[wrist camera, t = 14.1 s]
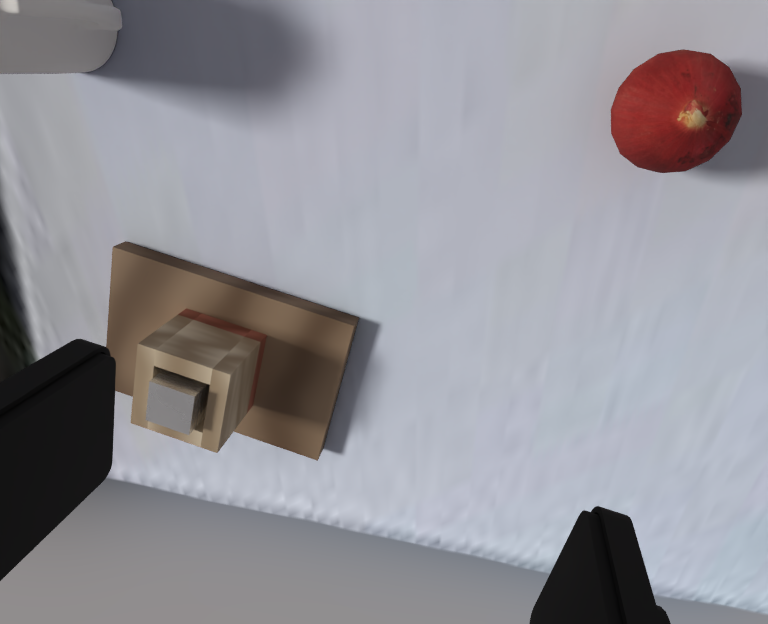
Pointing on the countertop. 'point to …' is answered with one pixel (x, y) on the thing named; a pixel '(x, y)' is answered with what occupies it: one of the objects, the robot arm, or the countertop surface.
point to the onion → (675, 111)
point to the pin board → (246, 309)
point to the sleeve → (202, 372)
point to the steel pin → (176, 401)
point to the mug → (56, 35)
